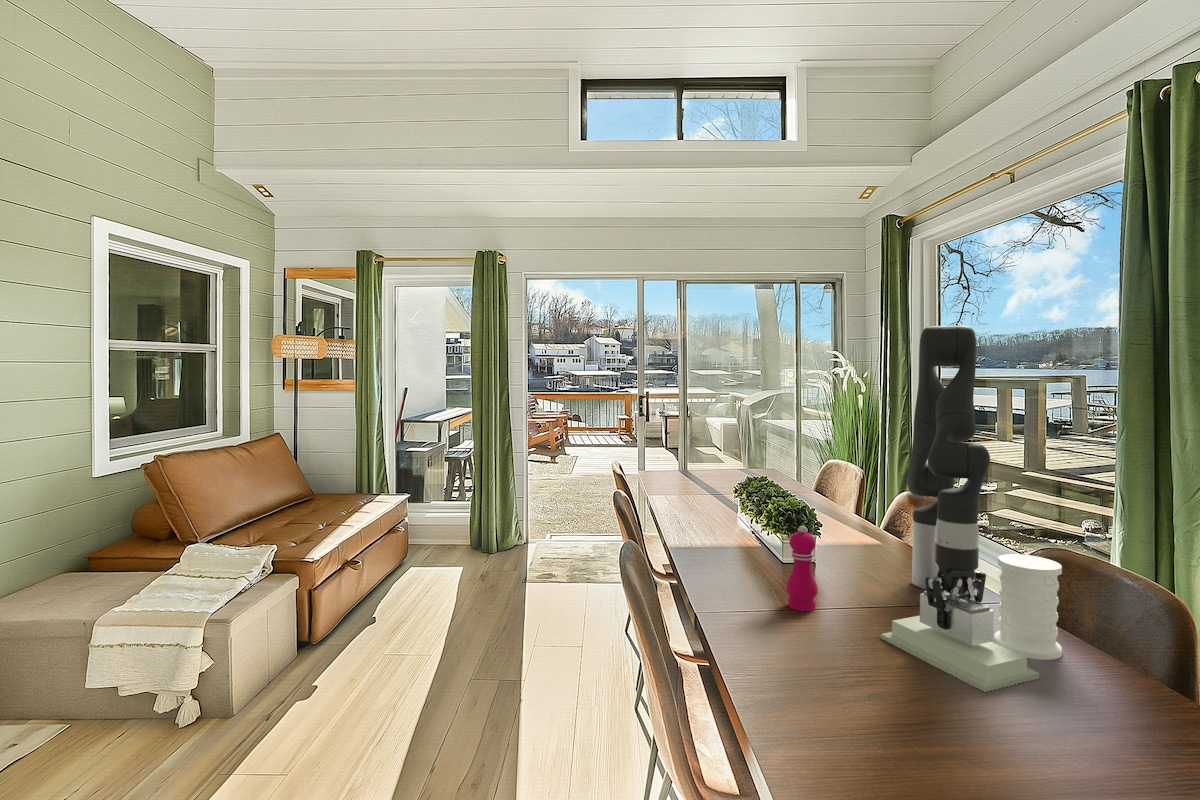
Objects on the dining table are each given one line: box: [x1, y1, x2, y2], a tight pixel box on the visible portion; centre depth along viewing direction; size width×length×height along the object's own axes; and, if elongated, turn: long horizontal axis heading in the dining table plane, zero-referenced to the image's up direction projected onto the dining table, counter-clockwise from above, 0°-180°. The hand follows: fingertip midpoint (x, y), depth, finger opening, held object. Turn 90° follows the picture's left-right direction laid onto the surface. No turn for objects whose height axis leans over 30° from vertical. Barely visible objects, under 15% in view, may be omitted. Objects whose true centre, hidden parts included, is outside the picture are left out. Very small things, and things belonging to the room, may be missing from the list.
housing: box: [919, 590, 995, 646], centre depth 123 cm, size 12×6×7 cm, turn 20°
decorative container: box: [993, 553, 1063, 661], centre depth 128 cm, size 12×12×18 cm
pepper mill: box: [786, 525, 818, 612], centre depth 150 cm, size 7×7×20 cm
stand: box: [880, 615, 1040, 693], centre depth 124 cm, size 14×24×4 cm, turn 20°
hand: (955, 625), depth 123 cm, fingers closed on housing, 5 cm apart
